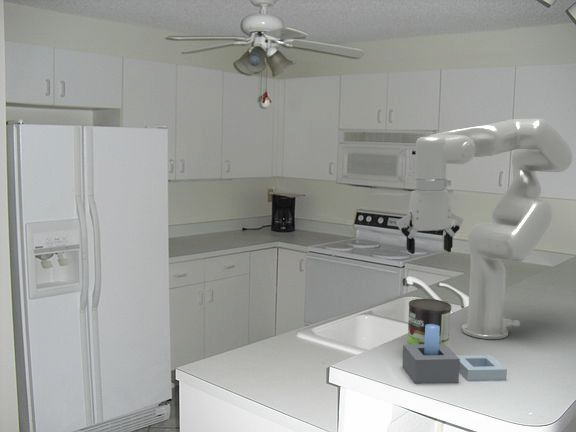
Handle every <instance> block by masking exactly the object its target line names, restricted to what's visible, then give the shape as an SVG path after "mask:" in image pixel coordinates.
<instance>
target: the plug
mask: <svg viewBox="0 0 576 432" xmlns="http://www.w3.org/2000/svg"><path fill="white" fill-rule="evenodd" d="M439 331H440V326H438V325H435V324H427V325H425V343H424V355H438V350H439Z"/></svg>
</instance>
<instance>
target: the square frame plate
mask: <svg viewBox="0 0 576 432" xmlns="http://www.w3.org/2000/svg"><path fill="white" fill-rule="evenodd" d="M456 356H457V357H458V358H459V359H460V366H459V374H461V376H462V377H464V379H465V380H466V381H467V382H478V381H479V382H480V381H485V382H486V381H487V382H488V381H507V375H508V369H507V368H506V367H505V366H503V365H502V364H501V362H499V361H498V360H497V359H496V358H494V357H493V356H492V355H490V354H485V355H484V354H483V355H480V354H479V355H478V354H474V355H473V354H472V355H471V354H470V355H469V354H468V355H456Z"/></svg>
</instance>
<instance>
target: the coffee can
mask: <svg viewBox="0 0 576 432" xmlns="http://www.w3.org/2000/svg"><path fill="white" fill-rule="evenodd" d="M451 313H452V304H451V303H449V302H447V301H444V300H441V299H435V298H416V299H415V298H414V299H412V300H409V302H408V324H407V325H408V327H407V328H408V329H407V343H406V344H424V343H425V325H427V324H435V325H438V326H440V331H439V344H445V345H446V346H447V347H448V348H449V347H450V330H451V315H452V314H451ZM449 349H450V348H449Z"/></svg>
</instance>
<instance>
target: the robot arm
mask: <svg viewBox="0 0 576 432" xmlns="http://www.w3.org/2000/svg"><path fill="white" fill-rule="evenodd" d="M511 151H512V153H511V164H512V181H511V184H510V185H509V186H508V187H507V190H506V191H505V192H504V193H503V195H502V196H501V197H500V199H499V200H498V201H497V203H496V204H495V206H494V208H493V209H492V213H491V218H492V221H493V222H491V221H481V222H477V223H476V224H475V225H473V226H472V227H471V228H470V229H469V231H468V232H469V233H468V238H467V239H468V241H467V242H468V248H469V249H468V250H469V256H470V257H469V258H470V259H469V260H470V269H469V270H470V273H469V275H470V276H469V291H468V309H467V322H465V323H464V324H462V325H461V332H462V333H464V334H465V335H467V336H470V337H473V338H477V339H478V338H479V339H484V340H499V339H500V340H501V339H502V340H503V339H505V338H507V337H508V335H509V330H508V329H510V328H520V325H521V322H520V320H517V319H515V320H513V319H511V318H505V317H504V311H505V295H506V293H505V292H506V282H507V281H506V279H507V273H506V266H505V264H504V262H503V260H505V261H509V262H516V263H518V262H519V263H520V262H523V261H525V260H526V259H528V258H529V257H530V255H531V254H532V253H533V252H534V251H535V250H534V249H536V247H537V246H538V244H539V243H540V242H541V240H542V238H543V237H544V235H545V234H546V232H547V231H548V229H549V227H550V226H551V222H552V220H553V219H552V218H553V210H552V207H551V205H550V204H549V202H547V200H545V199H543V198H539V197H540V196H541V193H542V187H541V183H540V182H539V179H538V178H537V174H536V172H548V173H561V172H564V171H566V170H568V169H569V167H571V164H572V162H573V150H572V148H571V146H570V145H569V144H568V142H567V141H566V140H565V138H564V137H563V135H561V134H560V132H559V131H558V130H557V129H556V128H555V127H554V125H552V123H550V122H549V121H548V120H546V119H544V118H540V117H539V118H534V117H533V118H512V119H506V120H503V121H498V122H494V123H493V122H492V123H489V124H484V125H477V126H471V127H466V128H461V129H453V130H448V131H443V132H439V133H433V134H430V135H429V136H421V137H418V138H417V140H416V141H415V167H414V168H415V170H414V171H415V172H414V173H415V175H414V177H415V180H414V183H415V184H414V185H415V186H414V188H415V190H411V193H410V199H409V205H408V206H409V207H408V214H406V215H405V216H403V217H401V218H400V219H398V220H396V223H395V224H396V225H397V226H398V229H399V231H400V232H401V233H402V234H403V235H404V236H405V237H406V250H407V252H408V253H410V254H411V255H413V254H415V253H416V251H415V249H416V248H415V247H416V246H415V245H416V242H415V241H416V239H415V238H414V236H415V235H416V233H417V232H424V231H425V232H427V231H443V232H444V233H445V234H444V235H443V250H444V251H445V252H447V253H451V252H452V249H453V248H454V247H453V244H454V243H453V241H454V239H453V238H454V237H455V234H456V233H457V232H458V231H460V227H461V226H462V224H463V222H464V218H462V217H460V216H458V215H456V214H454V213H452V212H451V210H452V206H451V201H450V194H449V191H448V190H447V188H448V187H449V186H451V185H452V181H451V180H448V179H447V165H465V164H467V163H469V162H470V161H472V160H473V158H481V157H482V158H483V157H485V158H486V157H492V156H497V155H500V154H503V153H507V152H511ZM452 220H453V221H454V224H453V225H451V224H452ZM406 223H407V225H408V227H409V228H408V229H407V228H406V227H405V224H406Z"/></svg>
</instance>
